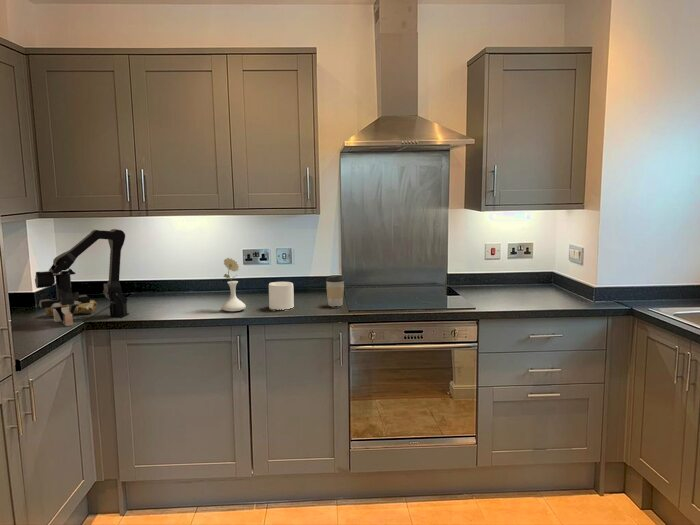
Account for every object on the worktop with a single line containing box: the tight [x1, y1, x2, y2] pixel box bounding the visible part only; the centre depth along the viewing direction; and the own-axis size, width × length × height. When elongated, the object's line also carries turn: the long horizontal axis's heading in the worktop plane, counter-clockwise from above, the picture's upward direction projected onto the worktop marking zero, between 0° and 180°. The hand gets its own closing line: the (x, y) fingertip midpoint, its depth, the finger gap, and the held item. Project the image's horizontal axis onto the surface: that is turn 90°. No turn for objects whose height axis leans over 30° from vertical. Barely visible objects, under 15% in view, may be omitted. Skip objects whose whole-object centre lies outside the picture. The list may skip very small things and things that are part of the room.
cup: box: [268, 281, 295, 310], centre depth 265 cm, size 12×12×12 cm
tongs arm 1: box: [59, 309, 69, 327], centre depth 237 cm, size 12×1×5 cm, turn 37°
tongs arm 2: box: [63, 309, 74, 327], centre depth 238 cm, size 12×1×5 cm, turn 37°
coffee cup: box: [325, 274, 345, 307], centre depth 269 cm, size 9×9×15 cm
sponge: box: [44, 299, 98, 317], centre depth 255 cm, size 13×8×20 cm
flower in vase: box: [221, 257, 247, 312], centre depth 260 cm, size 13×11×25 cm
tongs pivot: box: [53, 307, 69, 323], centre depth 244 cm, size 2×7×5 cm, turn 127°
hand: (66, 320), depth 238 cm, fingers open, 3 cm apart
